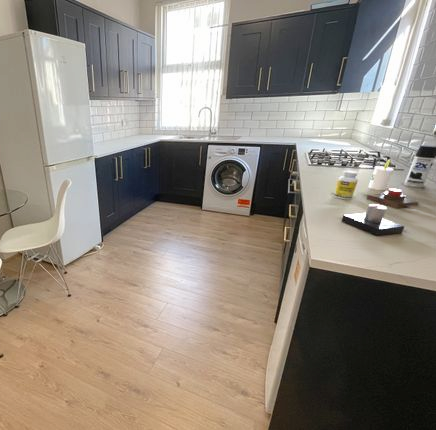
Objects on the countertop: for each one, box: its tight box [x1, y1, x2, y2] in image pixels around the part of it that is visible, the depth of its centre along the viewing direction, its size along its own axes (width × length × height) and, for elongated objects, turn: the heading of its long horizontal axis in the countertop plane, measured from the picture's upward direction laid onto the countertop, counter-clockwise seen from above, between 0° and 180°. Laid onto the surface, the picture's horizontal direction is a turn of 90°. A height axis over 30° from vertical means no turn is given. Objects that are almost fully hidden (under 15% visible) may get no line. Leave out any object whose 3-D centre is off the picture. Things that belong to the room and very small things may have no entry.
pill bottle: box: [333, 170, 359, 200], centre depth 121 cm, size 6×6×12 cm
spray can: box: [403, 144, 436, 188], centre depth 134 cm, size 7×7×20 cm
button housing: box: [366, 190, 420, 210], centre depth 116 cm, size 12×10×4 cm
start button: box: [387, 188, 403, 196], centre depth 115 cm, size 4×4×2 cm
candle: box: [368, 158, 394, 191], centre depth 131 cm, size 6×6×15 cm
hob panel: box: [340, 212, 405, 237], centre depth 94 cm, size 12×10×3 cm
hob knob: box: [364, 203, 388, 223], centre depth 93 cm, size 4×4×5 cm
